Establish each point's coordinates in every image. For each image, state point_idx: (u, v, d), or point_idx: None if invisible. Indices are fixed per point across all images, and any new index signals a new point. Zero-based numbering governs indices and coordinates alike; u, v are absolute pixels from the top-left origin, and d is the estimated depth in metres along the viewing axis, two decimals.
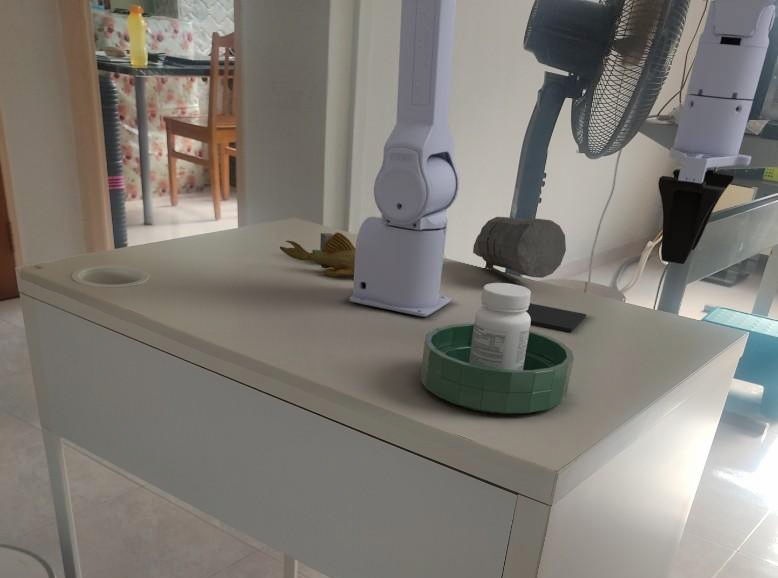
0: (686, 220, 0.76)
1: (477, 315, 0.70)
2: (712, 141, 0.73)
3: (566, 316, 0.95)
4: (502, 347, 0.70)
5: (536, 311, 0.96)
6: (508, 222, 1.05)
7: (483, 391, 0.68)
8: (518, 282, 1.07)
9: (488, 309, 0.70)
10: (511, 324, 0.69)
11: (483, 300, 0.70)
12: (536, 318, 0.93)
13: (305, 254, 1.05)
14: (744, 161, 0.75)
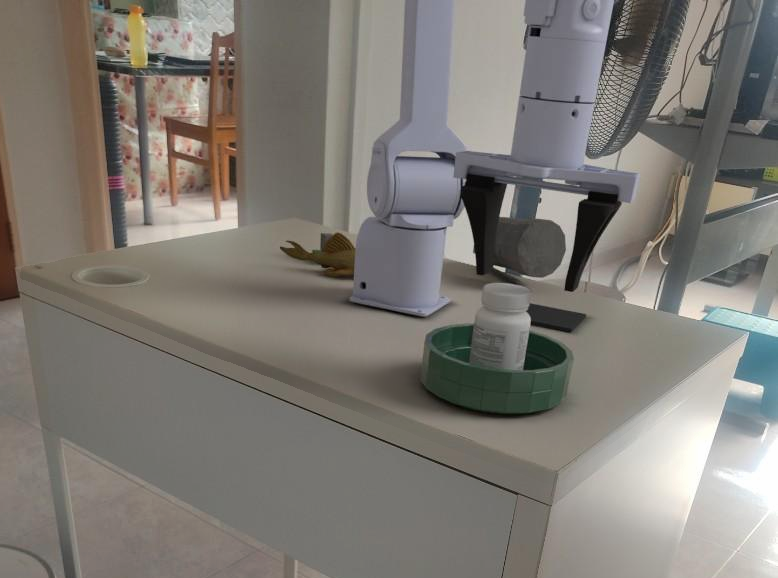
0: None
1: (477, 315, 0.70)
2: (512, 143, 0.66)
3: (566, 316, 0.95)
4: (502, 347, 0.70)
5: (536, 311, 0.96)
6: (508, 222, 1.05)
7: (483, 391, 0.68)
8: (518, 282, 1.07)
9: (488, 309, 0.70)
10: (511, 324, 0.69)
11: (483, 300, 0.70)
12: (536, 318, 0.93)
13: (305, 254, 1.05)
14: (520, 170, 0.63)
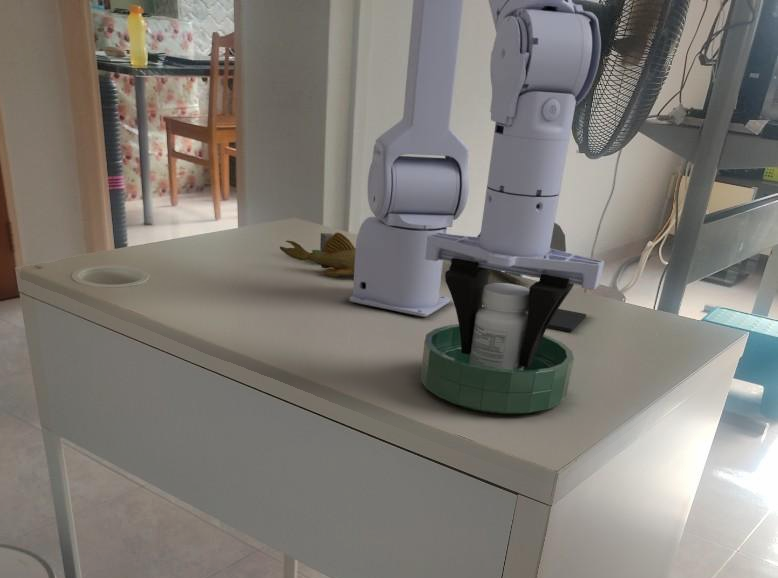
0: None
1: (477, 315, 0.70)
2: None
3: (566, 316, 0.95)
4: (502, 347, 0.70)
5: None
6: None
7: (483, 391, 0.68)
8: (518, 282, 1.07)
9: (488, 309, 0.70)
10: (511, 324, 0.69)
11: (483, 300, 0.70)
12: None
13: (305, 254, 1.05)
14: (487, 258, 0.66)
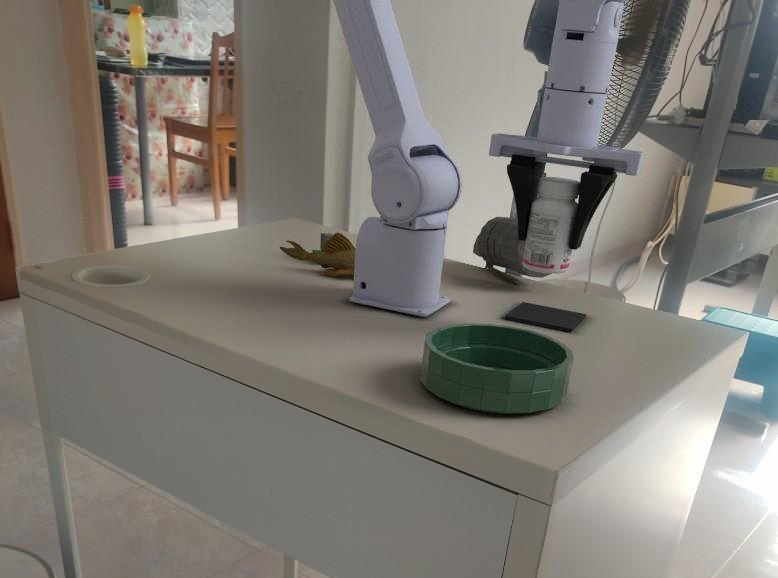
0: None
1: (533, 203, 0.82)
2: None
3: (566, 316, 0.95)
4: (555, 230, 0.81)
5: (536, 311, 0.96)
6: (508, 222, 1.05)
7: (483, 391, 0.68)
8: (518, 282, 1.07)
9: (543, 198, 0.81)
10: (563, 209, 0.80)
11: (539, 190, 0.81)
12: (536, 318, 0.93)
13: (305, 254, 1.05)
14: (545, 148, 0.77)
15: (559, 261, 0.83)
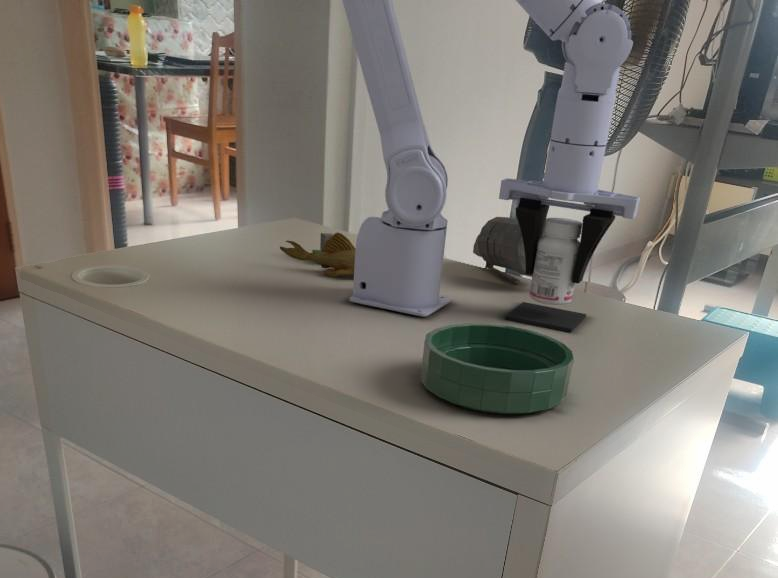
0: None
1: (540, 242, 0.90)
2: (544, 174, 0.88)
3: (566, 316, 0.95)
4: (559, 266, 0.90)
5: (536, 311, 0.96)
6: (508, 222, 1.05)
7: (483, 391, 0.68)
8: (518, 282, 1.07)
9: (549, 237, 0.90)
10: (567, 248, 0.89)
11: (545, 230, 0.90)
12: (536, 318, 0.93)
13: (305, 254, 1.05)
14: (550, 194, 0.86)
15: (563, 294, 0.91)
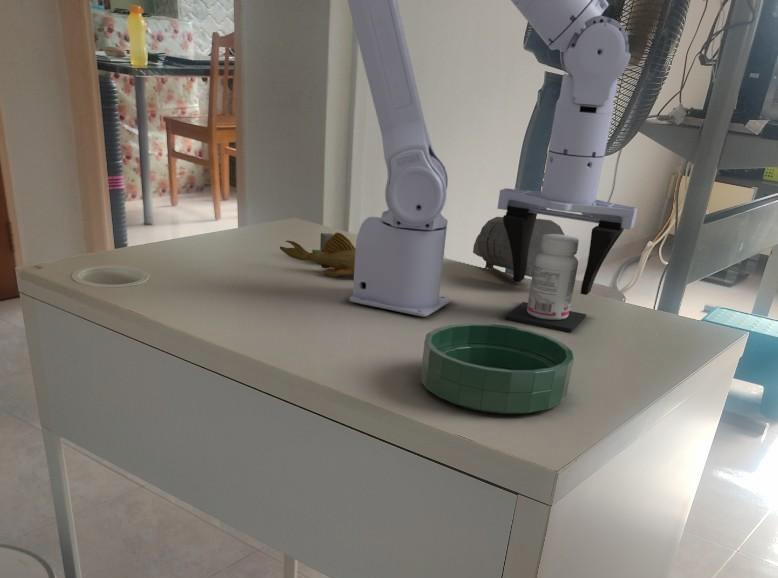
0: None
1: (537, 258, 0.91)
2: None
3: None
4: (556, 282, 0.91)
5: None
6: None
7: (483, 391, 0.68)
8: (518, 282, 1.07)
9: (546, 254, 0.90)
10: (564, 264, 0.90)
11: (542, 246, 0.90)
12: (536, 318, 0.93)
13: (305, 254, 1.05)
14: (548, 205, 0.86)
15: (560, 309, 0.92)
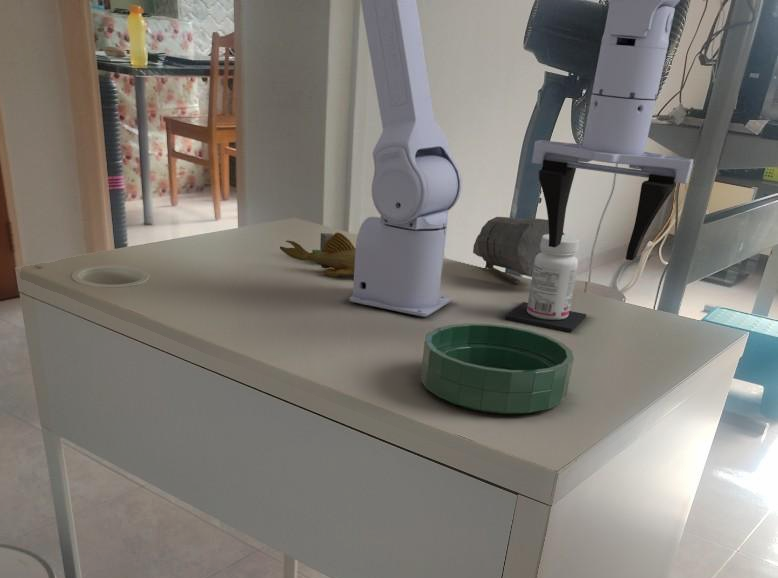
0: None
1: (537, 258, 0.91)
2: (584, 134, 0.78)
3: None
4: (556, 282, 0.91)
5: None
6: (508, 222, 1.05)
7: (483, 391, 0.68)
8: (518, 282, 1.07)
9: (546, 254, 0.90)
10: (564, 264, 0.90)
11: (542, 246, 0.90)
12: (536, 318, 0.93)
13: (305, 254, 1.05)
14: (592, 155, 0.76)
15: (560, 309, 0.92)
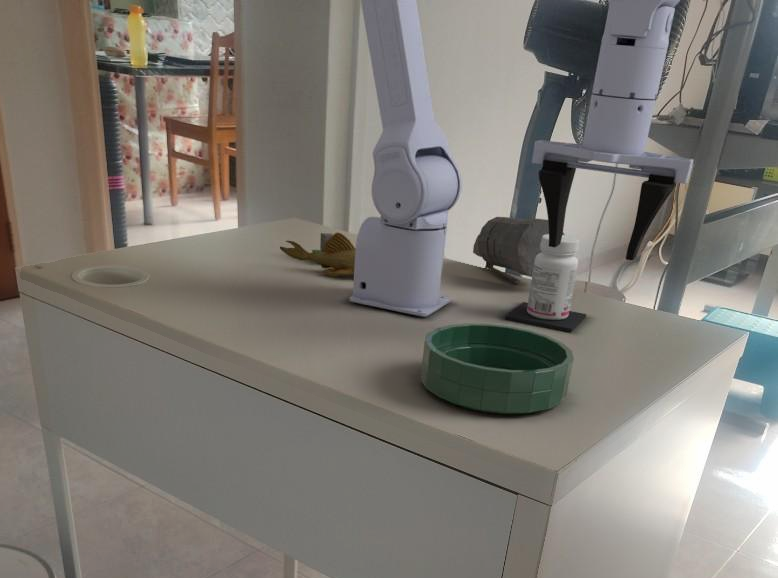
0: None
1: (537, 258, 0.91)
2: (584, 134, 0.78)
3: None
4: (556, 282, 0.91)
5: None
6: (508, 222, 1.05)
7: (483, 391, 0.68)
8: (518, 282, 1.07)
9: (546, 254, 0.90)
10: (564, 264, 0.90)
11: (542, 246, 0.90)
12: (536, 318, 0.93)
13: (305, 254, 1.05)
14: (592, 155, 0.76)
15: (560, 309, 0.92)
